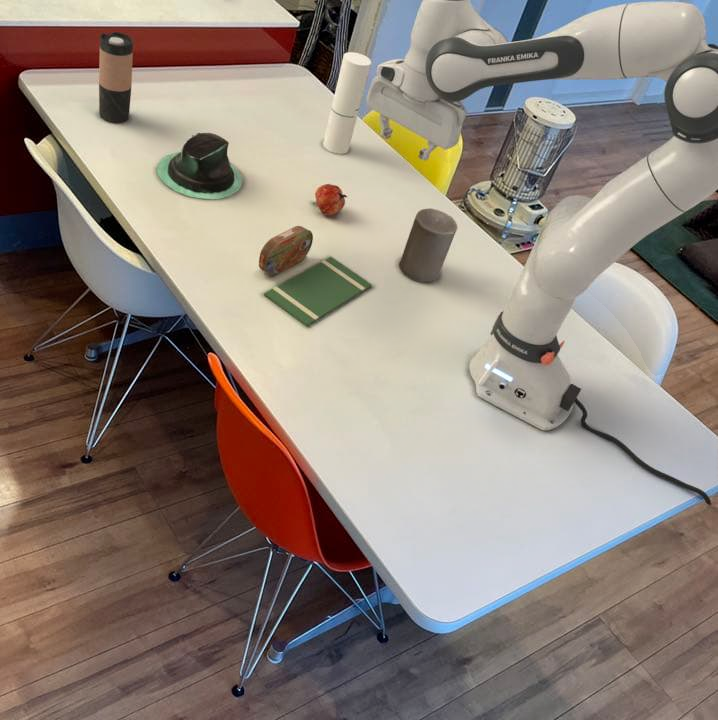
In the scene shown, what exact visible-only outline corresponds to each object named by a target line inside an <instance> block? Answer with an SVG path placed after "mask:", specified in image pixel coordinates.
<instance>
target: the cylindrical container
mask: <svg viewBox="0 0 718 720" xmlns="http://www.w3.org/2000/svg"><path fill="white" fill-rule="evenodd" d="M371 65H372V60H371V59H370V58H369V57H368V56H367V55H364V54H361V53H358V52H353V51H351V52H350V51H349V52H345V53H344V54H343V57H342V62H341V66H340V68H339V69H340V70H339V75H338V79H337V81H336V86H335V91H334V95H333V99H332V104H331V108H330V113H329V117H328V121H327V125H326V129H325V133H324V138H323V143H322V146H323V148H324V149H325V150H327V151H329V152H331V153H332V154H333V153H334V154H339V155H344V154H347V153H348V152H349V150H350V146H351V143H352V138H353V134H354V130H355V127H356V123H357V118H358V115H359V111H360V106H361V103H362V99H363V96H364V92H365V87H366V83H367V80H368V77H369V73H370V68H371Z"/></svg>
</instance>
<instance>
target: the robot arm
mask: <svg viewBox="0 0 718 720" xmlns="http://www.w3.org/2000/svg"><path fill="white" fill-rule="evenodd" d="M706 27H707V26H706V21H705V18H704V16H703V13H702V12H701V10H700V9H699V7H697V6H696V5H694V3H693V4H692V3H689V2H683V1H667V0H666V1H665V0H663V1H661V0H660V1H658V0H657V1H640V2H631V3H622V4H618V5H612V6H608V7H603V8H601V9H598V10H594V11H592V12H589V13H586V14H584V15H582V16H580V17H578V18H576V19H574V20H572V21H571V22H569V23H567V24H565V25H563V26H561V27H559V28H557V29H555V30H553V31H551V32H549V33H546V34H544V35H541V36H538V37H534V38H529V39H524V40H518V41H508V40H507V38H506V36H505V34H503V33H502V31H500V30H498V29H497V28H495V27H493V26H491V25H490V24H489V23H488V22H486V21H485V19H483V18H482V17H481V15H480V14H479V13H478V12H477V11H476V10H475V8H474V7H473V4H472V2H471V0H422V1H421V4H420V6H419V8H418V11H417V14H416V17H415V19H414V23H413V26H412V30H411V33H410V45H409V49H408V51H407V52H406V54H405V56H404V58H394V59H390V60H387V61H384V62H381V63H379V64H378V65H377V67H376V75H375V76H374V77H373V79H372V80H371V83H370V86H369V88H368V92H367V96H366V104H367V107H368V109H370V110H372V111H374V112H376V113H378V114H379V117H378V119H379V123H380V128H381V131H380V134H379V135H380V137H381V138H383V139H384V140H389V139H391V137H392V133H393V129H392V128H391V127H390V120H391V121H393V122H394V123H396V124H398V125H399V126H401V127H403V128H405V129H406V130H408V131H410V132H412V133H414V134H416V135H417V136H419V137H421V138H422V139H425V140H426V141H427V144H426V145H427V146H428V147H427V148H426V147H424V148H423V149H420V150H419V155H418V157H417V158H418V159H420V160H422V161H423V162H427V161H428V160H429V159H430V156H431V153H432V152H433V151H435V150H436V149H437V148H438V147H439V148H441V149H443V150H446V151H447V150H449V149H451V148H454V147H455V146H456V145H458V143H459V141H460V138H461V133H462V129H463V124H464V122H465V120H466V117H467V111H468V110H467V109H466V106H465V105H464V102H463V100H466V99H467V98H469V97H470V96H472V95H474V94H475V93H477V92H478V91H480V90H482V89H485V88H489V87H496V86H505V85H512V84H520V83H521V84H522V83H529V82H537V81H538V82H539V81H546V80H593V81H595V80H596V81H597V80H599V81H600V80H605V81H606V80H625V79H637V78H657V79H661V80H663V81H665V82H666V84H665V86H664V87H665V88H664V94H663V97H664V105H665V109H666V113H667V115H668V119H669V122H670V127H671V131H672V134H673V136H672V137H671V138H670V139H669V140H668V141H666V142H665V143H664V144H662V145H661V146H659V147H658V148H656V149H654V151H652V152H650V153H649V154H647V155H646V156H644V157H643V158H641V159H640V160H639V161H637V162H636V163H634V164H633V165H631V166H629V167H628V168H626V169H625V170H624V171H622V172H621V173H619V174H618V175H617V176H615V177H613V178H612V179H611V180H609V181H608V182H606V184H604V186H603V187H602V188H601V189H600V190H599V191H598V193H597V194H595V195H594V197H592V198H591V197H588V196H586V195H581V194H580V195H579V194H577V195H576V194H575V195H569V196H565V197H564V198H563V199H561V200H560V201H559V202H557V203H556V205H554V207H553V208H552V209H550V212H549V213H548V214H547V216H546V218H545V220H544V222H543V224H542V226H541V228H540V230H539V233H538V235H537V237H536V240H535V242H534V244H533V246H532V249H531V251H530V253H529V255H528V258H526V262H525V264H524V265H523V268H522V272H521V273H520V275H519V278H518V280H517V282H516V284H515V287H514V289H513V290H512V293H511V295H510V297H509V299H508V301H507V303H506V305H505V307H504V308H503V310H502V311H500V313H499V314H498V315H497V317H496V319H495V321H494V324H493V325H492V329H491V331H490V333H489V335H490V336H489V337H488V339H487V340H486V342H485V343H484V345H483V346H482V347H481V348H480V349H479V351H478V352H477V353H476V354H475V355H474V356H473V357H472V358H471V359H470V361H469V365H468V366H469V367H468V369H469V373H470V377H471V378H472V381H473V382H474V384H475V392H476V395H477V396H478V397H479V398H480V399H482V400H484V401H486V402H488V403H490V404H492V405H493V406H495V407H497V408H498V409H501V410H503V411H505V412H506V413H508V414H510V415H512V416H514V417H516V418H517V419H520V420H521V421H523V422H525V423H527V424H529V425H531V426H533V427H535V428H536V429H539V430H541V431H550V430H554V429H556V428H558V427H559V426H561V425H562V424H563V423H564V422H565V421H566V420H567V419H568V418H569V416H570V414H571V413H572V411H573V408H574V405H576V406H577V407H578V409H580V411H581V413H582V414H581V417H580V424H581V426H582V427H583V428H584V429H585V430H587V431H588V432H590V433H592V434H595V435H596V436H598V437H601V438H603V439H606V440H608V441H611V442H612V443H614V444H615V445H617V446H618V447H619V448H620V449H621V450H622V451H623V452H625V453H626V454H627V456H629V457H630V458H631V459H632V460H633V461H634V462H635V463H637V464H638V465H639V466H640V467H642V468H643V469H645V470H647V471H648V472H649V473H651V474H654V475H655V476H657V477H660V478H662V479H664V480H667V481H669V482H671V483H673V484H674V485H677V486H679V487H681V488H683V489H686V490H688V491H691V492H693V493H695V494H698V495H699V496H700V497H702V498H703V500H704V501H705V504H706V505H708V506H711V505H712V500H711V498H710V497H709V495H708V494H707V493H706V492H705V491H704V490H702V489H700V488H699V487H696V486H694V485H691V484H689V483H686V482H684V481H682V480H679V479H678V478H676V477H673V476H671V475H670V474H667V473H664V472H662V471H660V470H658V469H656V468H654V467H653V466H650V465H649V464H647V463H646V462H644V461H643V460H642V459H640V457H638V456H637V455H636V454H635V453H634V452H633V451H632V450H631V449H630V448H629V447H628V446H627V445H626V444H624V443H623V442H622V441H621V440H619V439H618V438H616V437H614V436H612V435H610V434H608V433H605V432H602V431H600V430H597V429H595V428H592V427H591V426H590V425H588V424H587V422H586V420H587V418H588V411H587V409H586V407H585V406H584V404H583V403H582V402H581V401H580V400H579V398H578V396H579V394H580V392H581V391H582V388H581V387H579V386H577V385H576V384H574V383H572V377H571V374H570V373H569V372H568V370H567V368H566V367H565V365H564V363H563V362H562V360H561V358H560V356H559V353H560V351H561V349H562V348H563V346H564V344H565V340H562V341H561V342H560V343H559V340H558V335H557V334H558V333H559V331H560V329H561V327H562V326H563V324H564V322H565V320H566V318H567V317H568V315H569V314H570V312H571V310H572V307H573V305H574V303H575V300H576V298H578V297H579V296H581V295H582V294H584V293H585V292H586V291H587V290H588V288H589V287H590V286H591V285H592V284H593V282H594V281H595V280H596V279H597V278H599V277H600V275H601V274H603V273H604V272H605V271H606V270H607V269H609V268H610V267H611V266H613V264H614V263H616V262H617V261H619V259H621V257H622V256H624V255H625V254H626V253H627V252H629V250H631V249H632V248H633V247H634V246H635V245H637V244H638V243H639V242H640V241H642V240H643V239H644V238H646V237H647V236H649V235H650V234H651V233H654V232H655V231H656V230H659V229H660V228H661V227H663V226H665V225H666V224H668V223H670V222H671V221H673V220H674V219H676V218H678V217H679V216H681V215H683V214H685V213H687V211H689V210H691V209H693V208H694V207H696V206H697V205H699V204H700V203H701V202H704V200H706V199H707V198H708V197H710V196H711V195H713V194H714V193H715V192H716V191H718V45H716V44H714V43H708V42H707V28H706Z"/></svg>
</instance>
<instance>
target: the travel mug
mask: <svg viewBox="0 0 718 720" xmlns="http://www.w3.org/2000/svg"><path fill="white" fill-rule="evenodd" d="M133 53H134V40H133V38H132V37H131V36H129V35H128V34H125V33H123V32H119V31H112V32H111V33H105V32H102V33H101V34H100V37H99V63H98V64H99V67H98V111H99V117H100V118H101V119H102V120H103V121H105V122H108V123H112V124H123V123H126V122H127V121H128V120H129V118H130V112H131V111H130V110H131V97H132V85H133V83H132V81H133V58H134V56H133Z"/></svg>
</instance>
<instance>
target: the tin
mask: <svg viewBox="0 0 718 720" xmlns="http://www.w3.org/2000/svg"><path fill="white" fill-rule="evenodd" d="M313 240H314V234H313V232H312V231H311V230H310V229H307V228H306V227H304V226H301V225H297V226H296V225H295V226H293V227H290V228H289V229H287V230H285V231H284V232H281V233H279V234H277V235H276V236H274V237H272V238H270V239H269V240H267V242H266V243H264V245H263V247H262V248H261V250H260V253H259V259H258V267H259V269H260V270H261V271H262V272H263V273H266V275H268V276H269V277H275V276H277V275H280V274H281V273H283V272H285V271H287V270H288V269H290V268H292V267H294V266H296V265H298V264H299V263H301V262H302V261H303V260H304V259H305V258H306V257H307V255H308V254H309V252H310V250H311V248H312V245H313Z"/></svg>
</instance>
